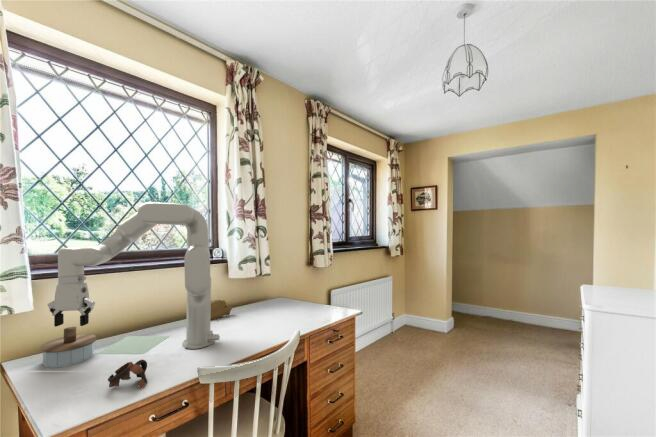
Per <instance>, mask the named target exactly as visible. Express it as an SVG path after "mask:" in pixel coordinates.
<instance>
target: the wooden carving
mask: <svg viewBox="0 0 656 437" xmlns="http://www.w3.org/2000/svg"><path fill="white" fill-rule="evenodd" d="M232 310H233V307H231V306H230V305H227V302H226V300H221V299H215V300H211V320H217V319H220V318H222V317H224V316H229V315H230V314H231V312H232Z"/></svg>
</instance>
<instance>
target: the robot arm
mask: <svg viewBox="0 0 656 437" xmlns="http://www.w3.org/2000/svg"><path fill="white" fill-rule="evenodd" d="M157 225H172V226H173V225H174V226H185V229H186V239H187V242H186V243H187V249H186V252H185V254H184V261H183V262H184V286H185V287H184V288H185V290H186V292H187V293H186V330H185V331H186V336H185V338H186V339H185V340H183V341H182V344H181V345H182V348H184V349H187V350H188V349H189V350H195V349H203V348H206V347H208V346H211V345H213V343H214V342H215V341H219V340H220V337H221V336H220V334H219V333H215V334H214V333H213V330H211V323H212V322H211V320H212V319H211V301H212V278H211V277H212V276H211V252H210V243H209V242H210V241H209V240H210V239H209V228H208V223H207V220H206V219H205V217H204V215H203V214H202V213H201V212H200V211H198V210H197V209H195V208H193V207H191V206H189V205H187V204H184V203H171V202H157V201H156V202H155V201H147V202H144V203H142V204H141V205H139V207H138V209H137V211H136V212H135V213H134V214H132V215H130V217H128V218H126V219H125V220H123V221H122V222H121V223H119V225H118V226H117V227H116V229H115V231H114V232H113V234H111V235H110V236H108V238H106V239H105V240H103V241H102V242H101V243H99V244H98V245H92V246H86V247H79V246H73V247H72V246H71V247H63V248H60V249H59V250H58V252H57V284H56V287H55V293H54V300H52V301H50V302H49V303H47V307H48V309H49V312H50V313H52V314H51V315H52V316H53V320H54V321H53V323H54V324H53V325H54V328H56V327H60V326H61V325H64V313H63V312H66V311H67V312H68V311H69V312H72V311H73V312H74V311H78V312H79V314H80V315H79V326H81V327H83V326H86V325H88V324H89V321H90V320H89V319H90V317H89V314H90V313H91V312H92V311H93V309H94V308H95V305H96V301H93V300H92V299H90V291H89V288H88V283H87V281H86V279H87V277H86V276H85V267H96V266H98V265H101V264H105V263H107V262H109V261H111V259H113V258H114V257H116V256H117V255H118V254H120V253H122V251H124V250H125V249H127V248H128V247H129V246H130V245H132V244H133V243H134V242H135V241H137V240H138V239H139V238H140V237H142V236H143V235H144V234H146V233H147V232H148V231H150V230H151V229H153V228H154V227H156V226H157Z"/></svg>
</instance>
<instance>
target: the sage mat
mask: <svg viewBox="0 0 656 437" xmlns="http://www.w3.org/2000/svg"><path fill="white" fill-rule="evenodd" d="M168 338H170V335H167V336H166V335H128V336H126V337H124V338H122V339H120V340H118V341H116V342H115V343H113V344H111V345H110V346H107V347H106V348H104V349H102V350H99V351H98V352H96V353H95V354H96V355H144V354H146V353H148V352H149V351H150V350H152V349H153V348H155V347H157V346H158V345H159V344H161V343H162V342H164V341H165V340H166V339H168Z"/></svg>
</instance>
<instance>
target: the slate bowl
mask: <svg viewBox="0 0 656 437" xmlns="http://www.w3.org/2000/svg"><path fill="white" fill-rule="evenodd" d="M94 343H95V342H93V343H91V344H89V345H87V346H84V347H81V348H78V349H74V350H69V351H64V352H55V353H47V352H42V364H43V367H46V368H48V369H49V368H52V369H55V368H62V367H67V366H72V365H76V364H79V363H82V362H84V361H87V360H89V359H90V358H91V357H92V356H93V355H94Z"/></svg>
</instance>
